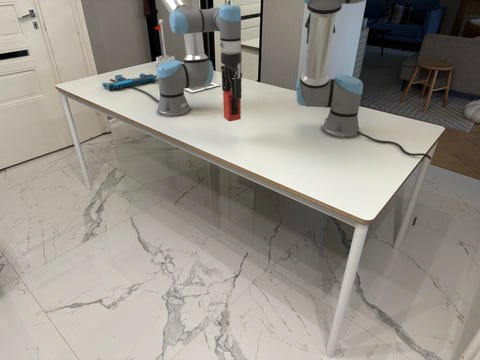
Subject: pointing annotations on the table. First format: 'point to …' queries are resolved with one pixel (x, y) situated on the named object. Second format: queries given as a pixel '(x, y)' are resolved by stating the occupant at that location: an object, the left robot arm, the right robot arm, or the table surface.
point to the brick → (227, 107)
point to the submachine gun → (128, 81)
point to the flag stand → (161, 58)
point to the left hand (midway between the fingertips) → (231, 111)
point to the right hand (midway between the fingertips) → (317, 45)
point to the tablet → (196, 89)
